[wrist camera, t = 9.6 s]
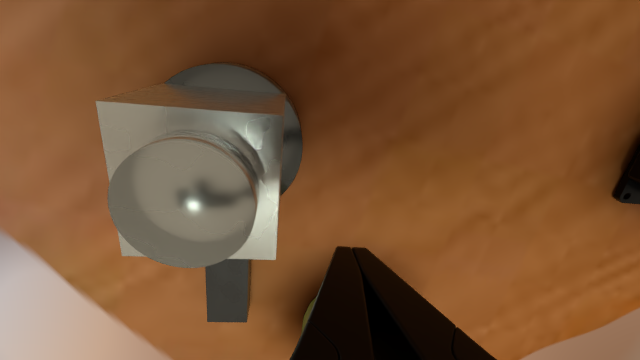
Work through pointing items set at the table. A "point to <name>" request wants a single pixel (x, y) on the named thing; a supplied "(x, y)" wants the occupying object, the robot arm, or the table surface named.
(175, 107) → the block with round boss
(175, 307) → the table surface
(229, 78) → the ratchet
